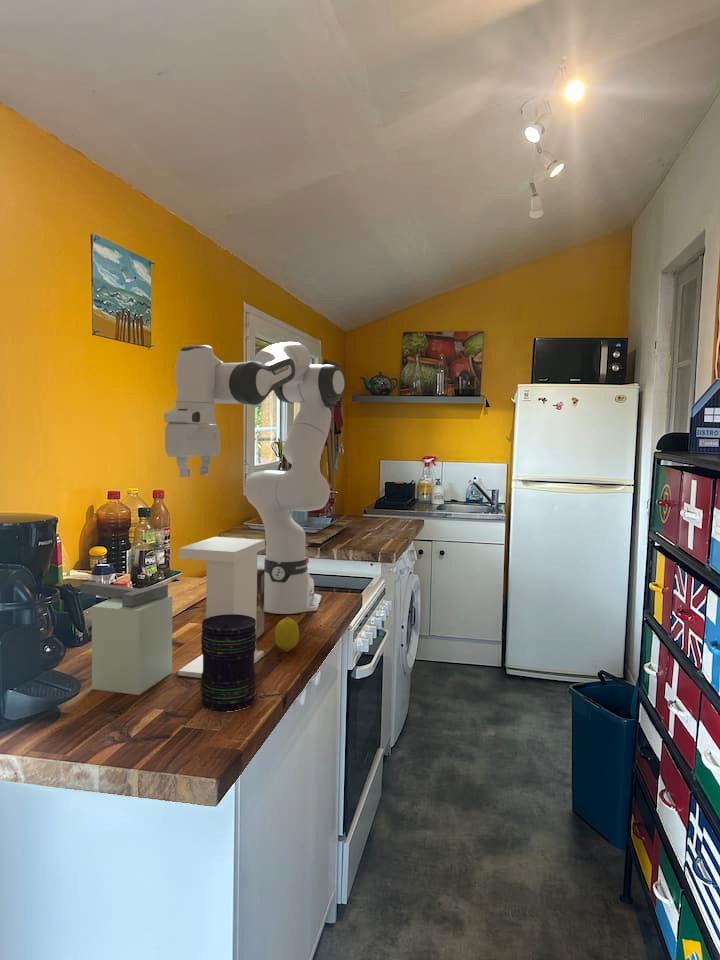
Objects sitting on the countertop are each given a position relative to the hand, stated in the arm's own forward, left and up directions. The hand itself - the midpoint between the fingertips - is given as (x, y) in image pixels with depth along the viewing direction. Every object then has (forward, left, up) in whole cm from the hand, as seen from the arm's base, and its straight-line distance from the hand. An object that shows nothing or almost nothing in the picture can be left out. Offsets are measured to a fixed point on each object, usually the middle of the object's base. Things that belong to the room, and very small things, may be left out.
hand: (194, 476), depth 149 cm
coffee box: (-7, +10, -39) cm, 41 cm away
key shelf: (+12, +13, -39) cm, 43 cm away
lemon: (0, +23, -39) cm, 46 cm away
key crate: (+25, 0, -39) cm, 46 cm away
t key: (+23, -5, -23) cm, 33 cm away
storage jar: (+29, +22, -39) cm, 54 cm away
